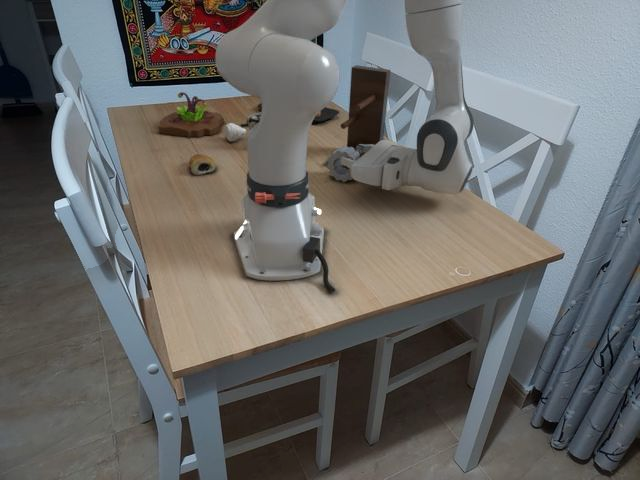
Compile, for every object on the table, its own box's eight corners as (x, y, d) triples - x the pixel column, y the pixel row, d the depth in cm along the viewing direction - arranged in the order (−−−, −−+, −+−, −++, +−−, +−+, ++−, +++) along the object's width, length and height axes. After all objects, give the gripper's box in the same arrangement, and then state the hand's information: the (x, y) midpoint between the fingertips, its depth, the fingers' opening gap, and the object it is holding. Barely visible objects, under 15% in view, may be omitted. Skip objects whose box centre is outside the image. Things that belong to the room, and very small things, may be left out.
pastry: (186, 162, 124) (185, 149, 122) (211, 159, 126) (210, 146, 124) (192, 176, 117) (190, 162, 115) (218, 173, 119) (216, 159, 117)
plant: (172, 115, 157) (167, 83, 151) (228, 118, 156) (225, 85, 150) (152, 136, 140) (145, 100, 134) (214, 138, 140) (210, 102, 134)
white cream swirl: (249, 141, 139) (248, 123, 136) (231, 144, 136) (229, 126, 133) (243, 135, 143) (241, 118, 140) (225, 138, 140) (223, 121, 137)
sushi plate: (342, 116, 161) (343, 105, 159) (291, 140, 140) (291, 128, 138) (279, 101, 174) (278, 91, 172) (224, 121, 153) (223, 110, 151)
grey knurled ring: (354, 184, 115) (357, 154, 111) (326, 177, 118) (327, 148, 114) (361, 178, 118) (363, 149, 114) (333, 172, 121) (334, 143, 117)
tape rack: (368, 175, 120) (376, 83, 107) (326, 165, 125) (330, 76, 111) (388, 156, 131) (397, 70, 118) (349, 148, 136) (354, 64, 123)
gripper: (416, 139, 115) (366, 129, 120) (388, 168, 99) (332, 155, 104) (412, 162, 118) (364, 152, 123) (385, 193, 103) (331, 179, 108)
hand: (349, 153), depth 114 cm, fingers open, 8 cm apart
